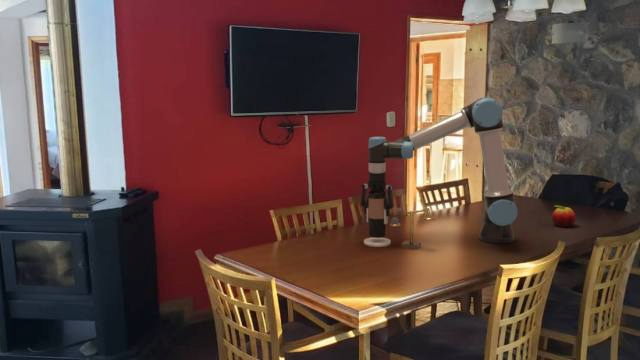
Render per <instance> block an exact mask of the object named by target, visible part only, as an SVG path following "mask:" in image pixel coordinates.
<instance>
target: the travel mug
mask: <svg viewBox="0 0 640 360" xmlns="http://www.w3.org/2000/svg"><path fill="white" fill-rule="evenodd" d="M386 193H387V191H385V193H369V192H368V196H369V222H368V234H369V235H368V236H369V238H386V227H387V224H384V209H386V208H385V205H384V197H385V196H386V197H387V195H386Z"/></svg>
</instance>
